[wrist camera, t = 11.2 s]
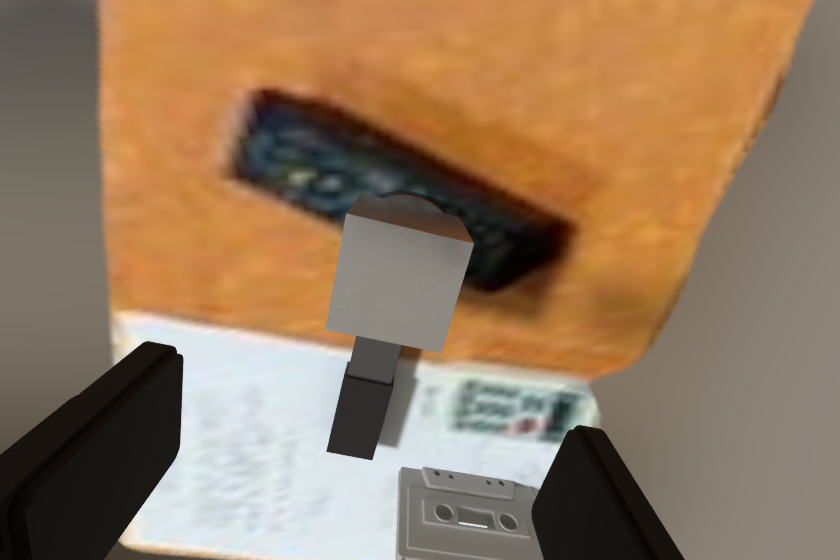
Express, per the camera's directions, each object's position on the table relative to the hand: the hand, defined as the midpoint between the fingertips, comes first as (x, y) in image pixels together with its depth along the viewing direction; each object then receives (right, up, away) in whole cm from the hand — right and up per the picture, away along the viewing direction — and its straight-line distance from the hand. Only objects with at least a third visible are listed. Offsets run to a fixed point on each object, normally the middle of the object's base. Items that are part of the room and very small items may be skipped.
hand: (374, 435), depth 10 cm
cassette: (+5, -14, +25) cm, 29 cm away
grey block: (0, +5, +15) cm, 16 cm away
